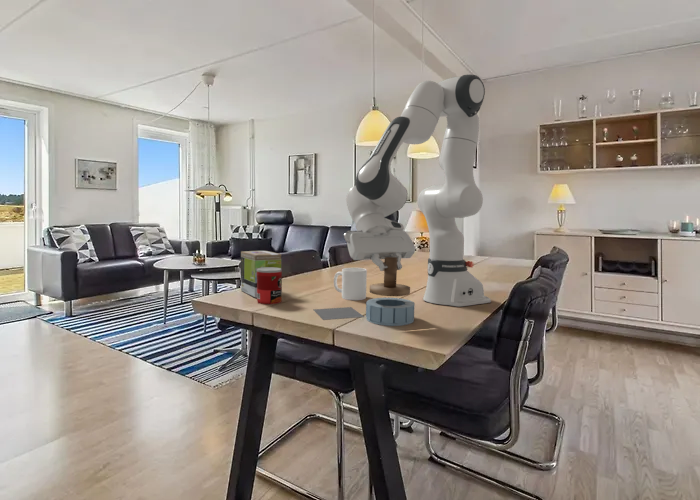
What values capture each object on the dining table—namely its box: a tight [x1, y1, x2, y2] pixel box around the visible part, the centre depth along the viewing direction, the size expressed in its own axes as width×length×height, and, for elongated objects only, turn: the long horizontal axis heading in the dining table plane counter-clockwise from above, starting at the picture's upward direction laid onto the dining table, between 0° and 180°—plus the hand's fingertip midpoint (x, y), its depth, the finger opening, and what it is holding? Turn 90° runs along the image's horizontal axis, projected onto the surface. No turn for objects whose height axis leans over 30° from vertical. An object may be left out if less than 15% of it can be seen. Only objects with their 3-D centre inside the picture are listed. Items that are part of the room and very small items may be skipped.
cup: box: [333, 267, 368, 301], centre depth 143 cm, size 8×12×10 cm
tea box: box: [240, 250, 282, 299], centre depth 149 cm, size 15×10×15 cm, turn 33°
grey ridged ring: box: [365, 296, 416, 327], centre depth 115 cm, size 13×13×5 cm
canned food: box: [256, 267, 283, 305], centre depth 134 cm, size 8×8×11 cm
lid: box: [369, 257, 411, 297], centre depth 114 cm, size 11×11×10 cm
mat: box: [313, 306, 365, 321], centre depth 121 cm, size 12×12×1 cm
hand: (391, 269), depth 113 cm, fingers closed on lid, 3 cm apart
